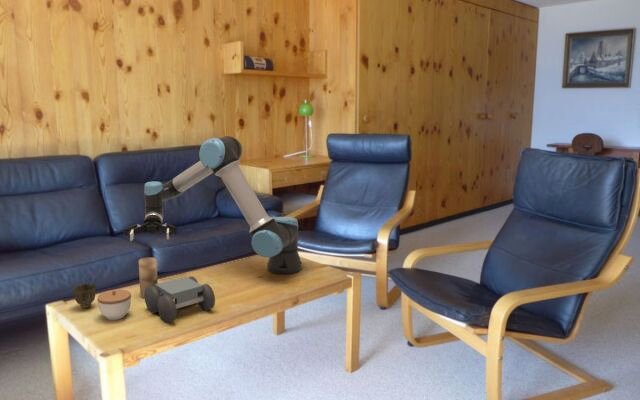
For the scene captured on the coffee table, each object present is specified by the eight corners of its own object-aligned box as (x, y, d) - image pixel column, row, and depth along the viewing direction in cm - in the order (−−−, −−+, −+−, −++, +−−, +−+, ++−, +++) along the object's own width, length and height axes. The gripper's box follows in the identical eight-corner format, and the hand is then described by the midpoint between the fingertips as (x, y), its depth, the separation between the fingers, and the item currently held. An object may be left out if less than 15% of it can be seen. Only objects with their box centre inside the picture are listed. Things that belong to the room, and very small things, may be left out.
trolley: (188, 296, 200) (187, 272, 198) (215, 311, 186) (214, 286, 184) (145, 308, 188) (143, 283, 186) (170, 326, 175) (169, 299, 173)
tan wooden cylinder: (153, 290, 205) (151, 256, 202) (161, 295, 200) (159, 260, 197) (137, 294, 200) (135, 259, 197) (145, 299, 196) (143, 263, 193)
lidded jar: (95, 314, 183) (93, 289, 181) (126, 307, 189) (124, 282, 187) (104, 325, 174) (102, 299, 172) (136, 317, 181) (134, 292, 179)
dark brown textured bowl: (101, 305, 191) (100, 284, 189) (87, 313, 184) (85, 291, 182) (84, 302, 193) (83, 281, 191) (69, 310, 186) (67, 288, 184)
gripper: (183, 230, 228) (182, 244, 208) (122, 232, 223) (115, 247, 202) (182, 213, 227) (182, 226, 207) (121, 215, 221) (114, 228, 201)
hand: (149, 236), depth 205 cm, fingers open, 13 cm apart
